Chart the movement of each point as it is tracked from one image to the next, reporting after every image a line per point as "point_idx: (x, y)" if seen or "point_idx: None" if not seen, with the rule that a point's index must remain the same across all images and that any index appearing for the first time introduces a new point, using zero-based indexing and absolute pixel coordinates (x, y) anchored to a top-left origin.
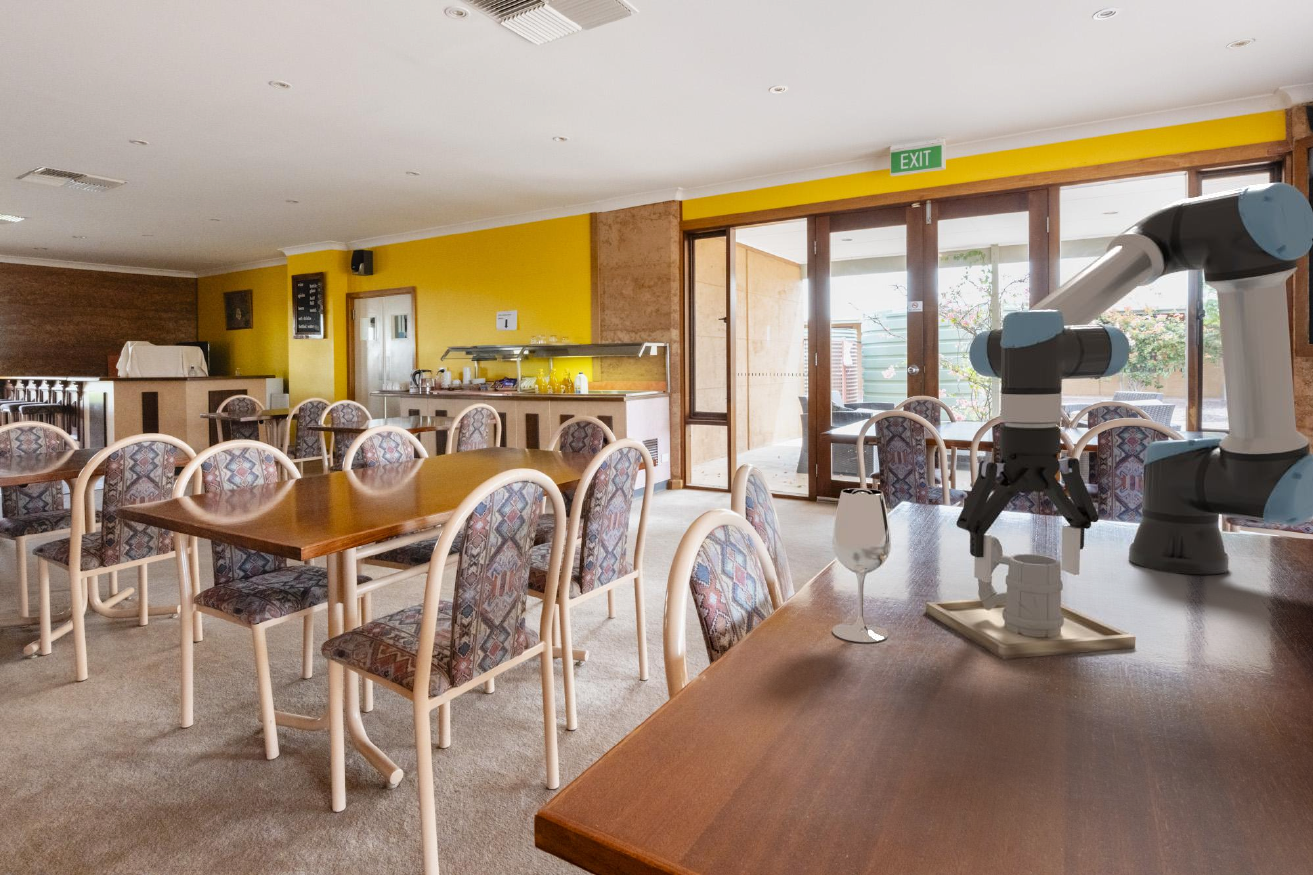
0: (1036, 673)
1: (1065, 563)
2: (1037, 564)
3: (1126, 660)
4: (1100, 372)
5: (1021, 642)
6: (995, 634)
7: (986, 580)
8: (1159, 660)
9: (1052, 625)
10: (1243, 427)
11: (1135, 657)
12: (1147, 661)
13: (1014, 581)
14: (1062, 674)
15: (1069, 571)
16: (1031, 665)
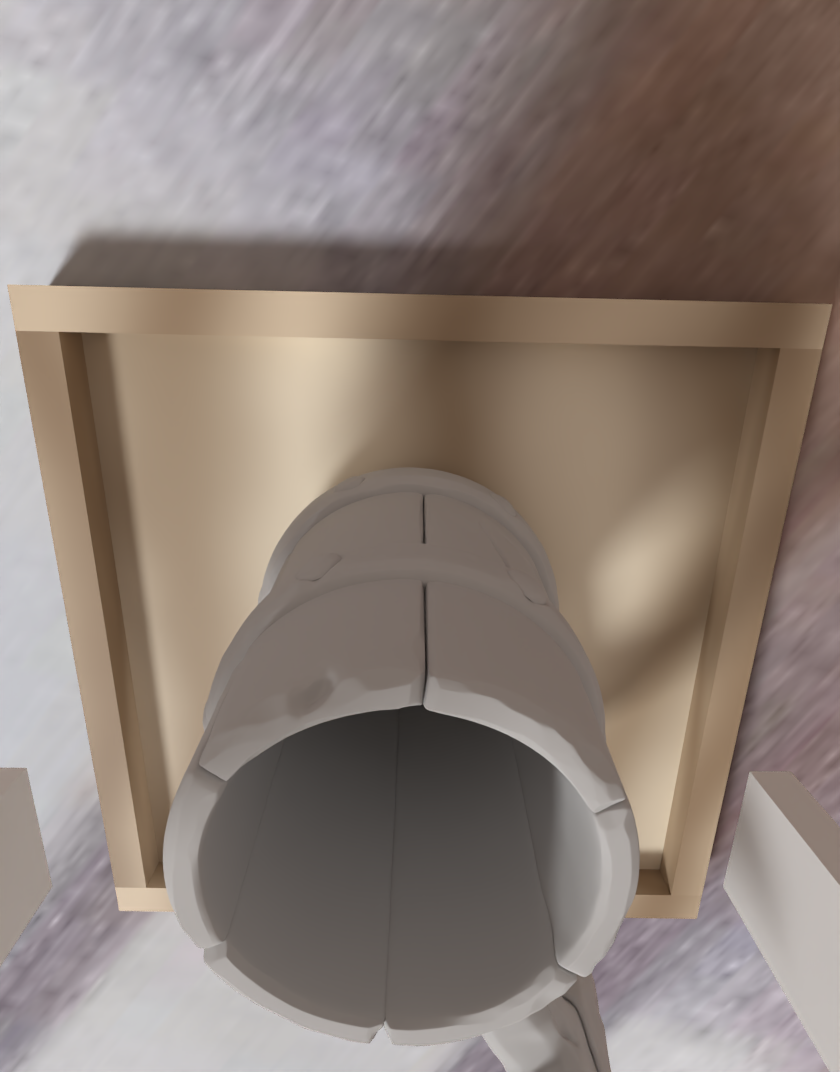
0: (788, 83)
1: (5, 906)
2: (523, 724)
3: (205, 136)
4: None
5: (587, 444)
6: (627, 566)
7: (795, 780)
8: (29, 89)
9: (404, 471)
10: None
11: (129, 164)
12: (103, 92)
13: (603, 724)
14: (672, 32)
15: (28, 824)
16: (726, 196)
